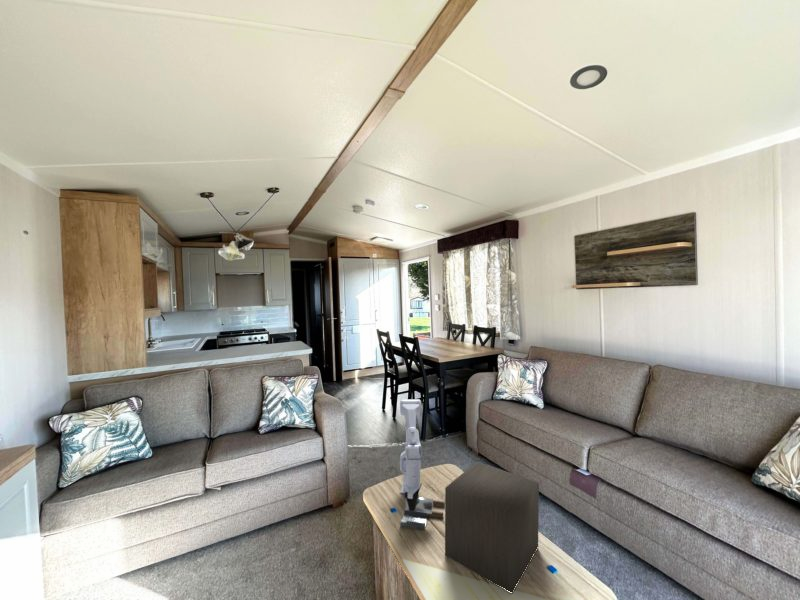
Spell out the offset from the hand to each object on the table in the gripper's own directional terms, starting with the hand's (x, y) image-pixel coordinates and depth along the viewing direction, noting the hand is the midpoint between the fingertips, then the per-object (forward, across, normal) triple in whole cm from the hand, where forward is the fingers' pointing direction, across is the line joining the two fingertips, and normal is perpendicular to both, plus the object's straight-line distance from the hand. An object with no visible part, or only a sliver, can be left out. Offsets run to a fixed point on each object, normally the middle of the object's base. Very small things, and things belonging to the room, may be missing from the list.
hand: (413, 505), depth 141 cm
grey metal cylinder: (+2, 0, +2) cm, 3 cm away
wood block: (+7, +10, +31) cm, 34 cm away
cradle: (+7, 0, 0) cm, 7 cm away
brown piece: (+7, -9, +8) cm, 14 cm away
